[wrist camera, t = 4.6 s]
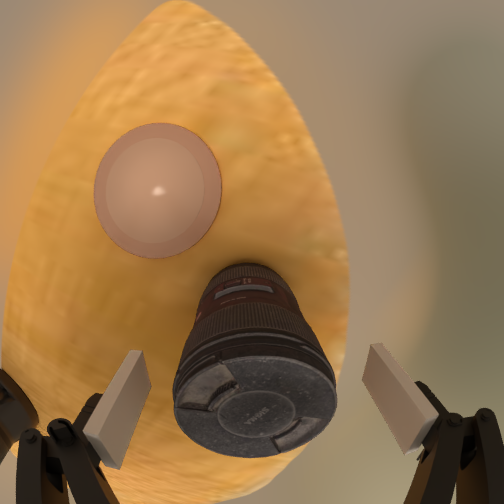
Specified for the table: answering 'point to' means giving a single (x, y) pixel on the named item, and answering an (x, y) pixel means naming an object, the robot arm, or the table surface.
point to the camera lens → (252, 369)
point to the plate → (157, 190)
